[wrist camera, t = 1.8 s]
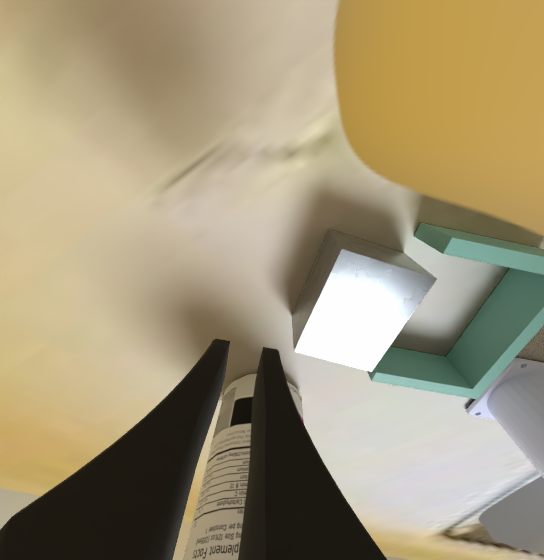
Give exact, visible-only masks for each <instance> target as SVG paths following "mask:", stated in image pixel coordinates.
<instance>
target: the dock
mask: <svg viewBox="0 0 544 560" xmlns="http://www.w3.org/2000/svg"><path fill="white" fill-rule="evenodd" d="M414 237H416V238H418V239H419V240H421V241H423V242H424V243H426V244H428V245H429V246H431V247H433V248H434V249H436V250H438V251H439V252H441V253H443V254H447V255H451V256H456V257H461V258H466V259H471V260H476V261H480V262H485V263H490V264H495V265H500V266H504V267H509V270H508V271H507V273H506V274H505V275H504V277H503V278H502V280H501V281H500V282H499V284H498V285H497V286H496V288H495V289H494V291H493V292H492V293H491V295H490V296H489V298H488V299H487V300H486V302H485V303H484V304H483V306H482V307H481V309H480V310H479V311H478V313H477V314H476V316H475V317H474V318H473V320H472V321H471V322H470V324H469V325H468V327H467V328H466V329H465V331H464V332H463V334H462V335H461V336H460V338H459V339H458V340H457V342H456V343H455V345H454V346H453V347H452V349H451V350H450V352H449V353H448V354H447V356H446V357H445V356H440V355H434V354H429V353H423V352H418V351H412V350H407V349H401V348H396V347H390V346H389V348H388V349H387V351H386V352H385V354H384V355H383V356H382V358H381V359H380V361H379V362H378V363H377V365H376V366H375V368H374V369H373V371H372V372H371V371H368V374H369V376H370V379H371V381H374V382H379V383H385V384H391V385H397V386H403V387H408V388H414V389H420V390H426V391H432V392H437V393H443V394H449V395H455V396H460V397H466V398H472V399H478V398H479V397H480V396H481V394H482V393H483V392H484V391H485V390H486V389H487V388H488V387H489V386H490V384H491V383H492V382H493V381H494V380H495V379H496V378H497V377H498V376H499V375H500V373H501V372H502V371H503V370H504V369H505V368H506V367H507V366H508V365H509V363H510V362H511V361H512V360H513V359H514V358H515V357H516V356H517V355H518V353H519V352H520V351H521V350H522V349H523V348H524V347H525V346H526V345H527V344H528V342H529V341H530V340H531V339H532V338H533V337H534V336H535V335H536V334H537V332H538V331H539V330H540V329H541V328H542V327H543V326H544V250H543V249H541V248H537V247H532V246H528V245H523V244H518V243H514V242H509V241H504V240H500V239H495V238H490V237H486V236H481V235H476V234H472V233H467V232H462V231H458V230H453V229H448V228H444V227H439V226H434V225H430V224H425V223H420V225H419V227H418V229H417V231H416V233H415V235H414Z"/></svg>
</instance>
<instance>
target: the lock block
mask: <svg viewBox="0 0 544 560" xmlns="http://www.w3.org/2000/svg"><path fill="white" fill-rule="evenodd" d="M436 280H437V278H435V277H434V276H433V275H431V274H430V273H429V272H428V271H426V270H425V269H424V268H423V267H421V266H420V265H419V264H417V263H416V262H415V261H414V260H412V259H411V258H410V257H409V256H407V255H406V254H405V253H403V252H400V251H397V250H393V249H390V248H387V247H384V246H381V245H378V244H375V243H372V242H368V241H365V240H362V239H359V238H356V237H353V236H350V235H347V234H344V233H340V232H337V231H334V230H331V229H328V231H327V234H326V236H325V238H324V241H323V243H322V245H321V248H320V250H319V253H318V255H317V257H316V260H315V262H314V264H313V267H312V269H311V271H310V274H309V276H308V279H307V281H306V283H305V286H304V288H303V290H302V293H301V295H300V297H299V300H298V302H297V305H296V307H295V309H294V312H293V314H292V327H293V344H294V352H298V353H302V354H306V355H309V356H313V357H317V358H321V359H325V360H328V361H332V362H336V363H340V364H344V365H348V366H351V367H355V368H359V369H363V370H367V371H371V372H372V371H373V369H374V368H375V366H376V365H377V363H378V362H379V361H380V359H381V358H382V356H383V355H384V354H385V352H386V351H387V349H388V348H389V346H390V345H391V344H392V342H393V341H394V339H395V338H396V337H397V335H398V334H399V332H400V331H401V329H402V328H403V327H404V325H405V324H406V322H407V321H408V320H409V318H410V317H411V315H412V314H413V312H414V311H415V310H416V308H417V307H418V305H419V304H420V302H421V301H422V300H423V298H424V297H425V295H426V294H427V293H428V291H429V290H430V288H431V287H432V285H433V284H434V283H435V281H436Z"/></svg>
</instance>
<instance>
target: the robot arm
mask: <svg viewBox="0 0 544 560" xmlns="http://www.w3.org/2000/svg"><path fill="white" fill-rule="evenodd" d="M229 345H230V341H225V340H220V339H215V340H213V341H212V343H211V345H210V346H209V348H208V349H207V350H206V352H205V353H204V355H203V356H202V357H201V358H200V360H199V361H198V362H197V363H196V365H195V366H194V367H193V368H192V369H191V371H190V372H189V373H188V374H187V375H186V376H185V378H184V379H183V380H182V381H181V382H180V383H179V384H178V385H177V386H176V387H175V388H174V389H173V390H172V391H171V392H170V393H169V395H168V396H167V397H166V398H165V399H163V400H162V401H161V402H160V403H159V404H158V405H157V406H156V407H155V408H154V409H153V410H152V411H151V412H150V413H149V414H148V415H147V416H145V417H144V418H143V419H142V420H141V421H140V422H139V423H137V424H136V425H135V426H134V427H133V428H132V429H130V430H129V431H128V432H127V433H126V434H125V435H123V436H122V437H121V438H120V439H118V440H117V441H116V442H115V443H113V444H112V445H111V446H110V447H108V448H107V449H106V450H104V451H103V452H102V453H101V454H99V455H98V456H97V457H95V458H94V459H93V460H91V461H90V462H89V463H87V464H86V465H85V466H83V467H82V468H81V469H79V470H78V471H77V472H75V473H74V474H73V475H71V476H70V477H69V478H67V479H66V480H64V481H63V482H61V483H60V484H58V485H57V486H56V487H54V488H53V489H51V490H50V491H48V492H47V493H45V494H44V495H43V496H41V497H40V498H38V499H37V500H35V501H34V502H32V503H31V504H29V505H28V506H27V507H25V508H24V509H22V510H21V511H19V512H18V513H16V514H15V515H14V516H12V517H11V519H9V521H8V522H7V523H6V524H5V525H4V526H3V528H2V529H1V530H0V560H172V559H173V555H174V551H175V547H176V543H177V539H178V535H179V531H180V527H181V523H182V520H183V516H184V512H185V508H186V504H187V500H188V496H189V492H190V489H191V485H192V481H193V477H194V473H195V469H196V466H197V463H198V459H199V456H200V453H201V450H202V447H203V444H204V441H205V438H206V436H207V433H208V430H209V427H210V424H211V421H212V418H213V415H214V412H215V409H216V406H217V403H218V400H219V397H220V393H221V389H222V385H223V381H224V377H225V371H226V365H227V358H228V351H229ZM466 412H467V413H468V415H470V416H475V417H481V418H487V419H493V420H497V421H498V423H499V424H500V425H501V426H502V428H503V429H504V430H505V431H506V432H507V434H508V435H509V436H510V437H511V439H512V440H513V441H514V442H515V443H516V445H517V446H518V447H519V448H520V450H521V451H522V452H523V453H524V455H525V456H526V457H527V458H528V459H529V461H530V462H531V463H532V464H533V466H534V467H535V468H536V469H537V470H538V472H539V473H540V474H541V475H542V477H543V478H544V363H543V362H538V361H532V360H527V359H522V358H514V359H513V360H512V361H511V362H510V363H509V365H508V366H507V367H506V368H505V369H504V370H503V371H502V372H501V373H500V375H499V376H498V377H497V378H496V379H495V380H494V381H493V382H492V383H491V384H490V386H489V387H488V388H487V389H486V390H485V391H484V392H483V393H482V394H481V396H480V397H479V398H478V399H475V400H474V402H473V403H472V404H471V405H470V406H469V407H468V408H467V410H466ZM238 560H387V559H386V557H385V556H384V555H383V553H382V552H381V550H380V549H379V548H378V546H377V545H376V543H375V542H374V541H373V539H372V538H371V536H370V535H369V533H368V532H367V531H366V529H365V528H364V526H363V525H362V523H361V522H360V520H359V519H358V517H357V516H356V514H355V513H354V511H353V510H352V508H351V507H350V505H349V504H348V502H347V501H346V499H345V498H344V496H343V494H342V493H341V491H340V489H339V488H338V486H337V484H336V483H335V481H334V479H333V478H332V476H331V474H330V473H329V471H328V469H327V468H326V466H325V464H324V463H323V461H322V459H321V457H320V455H319V453H318V452H317V450H316V448H315V446H314V444H313V442H312V440H311V438H310V436H309V434H308V432H307V430H306V428H305V426H304V423H303V421H302V419H301V417H300V414H299V412H298V410H297V407H296V405H295V402H294V400H293V397H292V395H291V392H290V389H289V386H288V384H287V381H286V377H285V374H284V371H283V367H282V364H281V360H280V355H279V351H278V350H276V349H271V348H265V347H263V350H262V355H261V359H260V363H259V367H258V371H257V376H256V380H255V387H254V394H253V401H252V417H251V440H250V462H249V475H248V483H247V492H246V500H245V508H244V516H243V524H242V532H241V540H240V548H239V556H238Z"/></svg>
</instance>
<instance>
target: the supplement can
mask: <svg viewBox="0 0 544 560" xmlns="http://www.w3.org/2000/svg"><path fill="white" fill-rule="evenodd" d="M256 376H257V373H255V374H248V375H246V376H244V377H242V378H239V379H237V380H235V381H233V382H232V383H231V384H230V385H229V386H228V387H227V388H226V389H225V392H224V396H223V400H222V404H221V408H220V412H219V416H218V420H217V424H216V428H215V432H214V436H213V440H212V444H211V448H210V453H209V457H208V461H207V465H206V469H205V473H204V477H203V481H202V485H201V489H200V493H199V497H198V502H197V506H196V510H195V514H194V518H193V522H192V526H191V530H190V534H189V539H188V542H187V546H186V550H185V555H184V559H183V560H238V556H239V548H240V540H241V532H242V524H243V516H244V508H245V500H246V492H247V483H248V475H249V462H250V440H251V417H252V401H253V394H254V387H255V380H256ZM287 384H288V386H289V389H290V392H291V395H292V397H293V400H294V402H295V405H296V407H297V410H298V412H299V414H300V417H301V419H302V421H303V411H302V398H301V396H300V394H299V392H298V390H297V389H296V388H295V387H294V386H293V385H291V384H290V383H289V382H288V381H287Z"/></svg>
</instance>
